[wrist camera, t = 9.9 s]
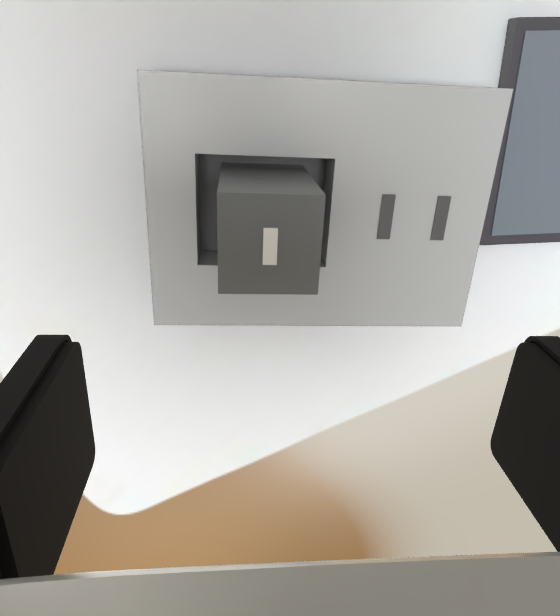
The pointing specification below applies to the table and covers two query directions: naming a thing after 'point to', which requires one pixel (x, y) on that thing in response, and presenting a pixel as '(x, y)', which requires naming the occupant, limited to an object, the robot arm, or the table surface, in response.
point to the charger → (268, 229)
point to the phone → (528, 138)
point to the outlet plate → (333, 182)
